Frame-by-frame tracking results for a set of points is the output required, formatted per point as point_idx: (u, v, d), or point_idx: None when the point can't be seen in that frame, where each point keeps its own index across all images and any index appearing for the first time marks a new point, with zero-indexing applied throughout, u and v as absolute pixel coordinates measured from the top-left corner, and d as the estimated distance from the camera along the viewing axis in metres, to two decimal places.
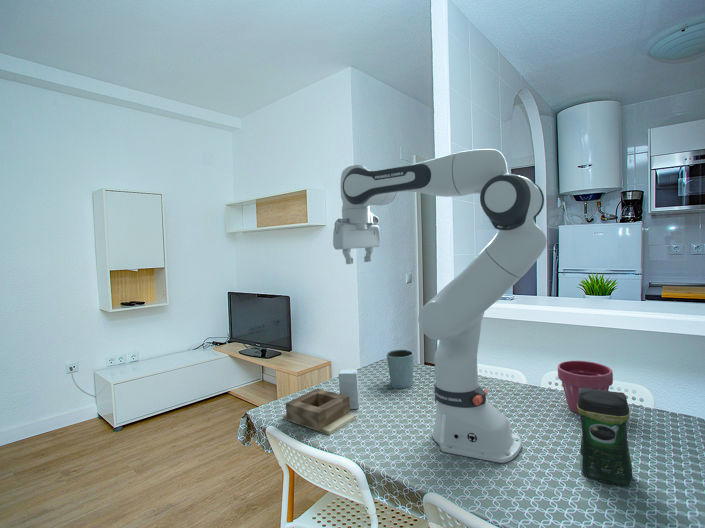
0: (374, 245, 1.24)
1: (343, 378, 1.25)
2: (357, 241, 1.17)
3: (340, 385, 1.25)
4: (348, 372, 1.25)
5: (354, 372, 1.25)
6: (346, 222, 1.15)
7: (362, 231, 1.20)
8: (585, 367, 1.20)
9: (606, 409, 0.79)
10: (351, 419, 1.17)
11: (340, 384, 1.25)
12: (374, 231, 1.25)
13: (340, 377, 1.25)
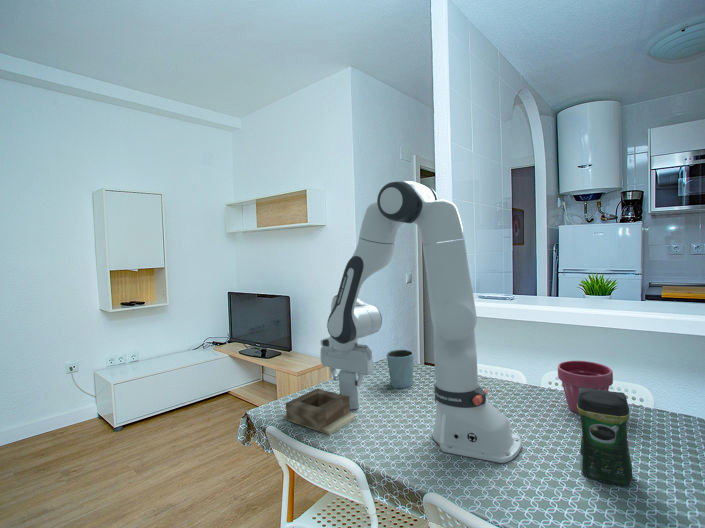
0: None
1: (343, 378, 1.25)
2: None
3: (340, 385, 1.25)
4: (348, 372, 1.25)
5: None
6: None
7: None
8: (585, 367, 1.20)
9: (606, 409, 0.79)
10: (351, 419, 1.17)
11: (340, 384, 1.25)
12: None
13: (340, 377, 1.25)
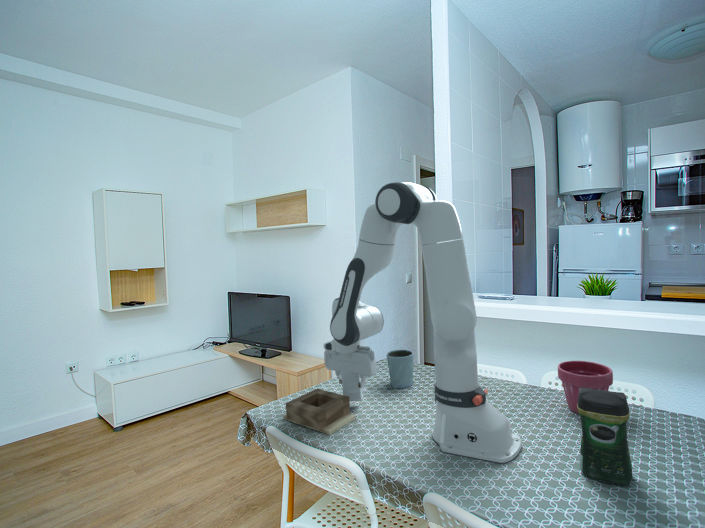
0: None
1: (345, 370, 1.25)
2: None
3: (342, 377, 1.25)
4: None
5: None
6: None
7: None
8: (585, 367, 1.20)
9: (606, 409, 0.79)
10: (351, 419, 1.17)
11: (342, 376, 1.25)
12: None
13: (342, 369, 1.25)
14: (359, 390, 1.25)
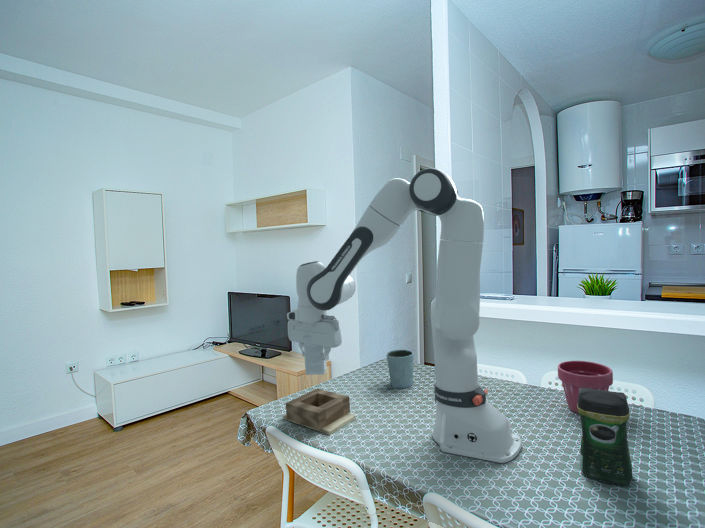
0: None
1: (308, 341, 1.17)
2: None
3: (305, 349, 1.17)
4: None
5: None
6: None
7: None
8: (585, 367, 1.20)
9: (606, 409, 0.79)
10: (351, 419, 1.17)
11: (305, 348, 1.17)
12: None
13: (305, 340, 1.17)
14: (322, 362, 1.17)
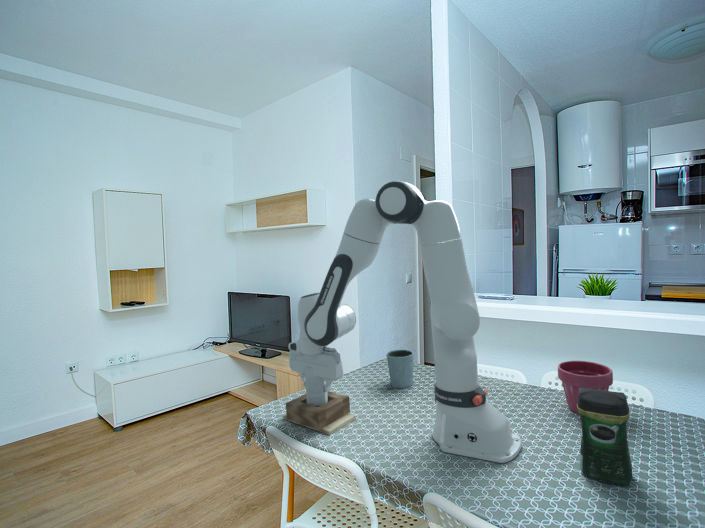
0: None
1: (309, 373, 1.17)
2: None
3: (306, 380, 1.17)
4: None
5: None
6: None
7: None
8: (585, 367, 1.20)
9: (606, 409, 0.79)
10: (351, 419, 1.17)
11: (306, 379, 1.17)
12: None
13: (306, 372, 1.17)
14: (324, 394, 1.17)
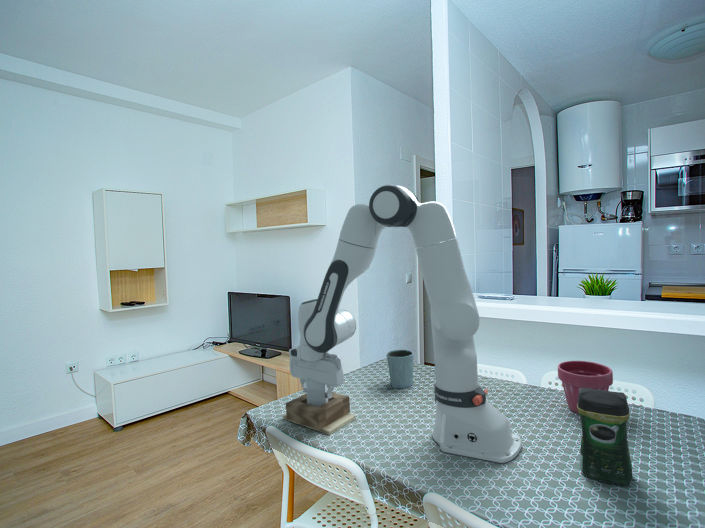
0: None
1: (310, 385, 1.17)
2: None
3: (307, 392, 1.18)
4: None
5: None
6: None
7: None
8: (585, 367, 1.20)
9: (606, 409, 0.79)
10: (351, 419, 1.17)
11: (307, 391, 1.18)
12: None
13: (307, 384, 1.18)
14: None
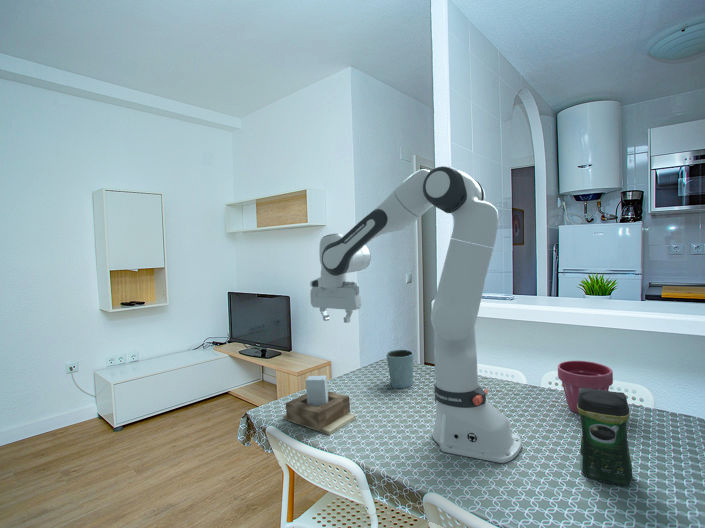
0: None
1: (310, 385, 1.17)
2: None
3: (307, 392, 1.18)
4: (316, 379, 1.18)
5: (322, 378, 1.18)
6: None
7: None
8: (585, 367, 1.20)
9: (606, 409, 0.79)
10: (351, 419, 1.17)
11: (307, 391, 1.18)
12: None
13: (307, 384, 1.18)
14: None
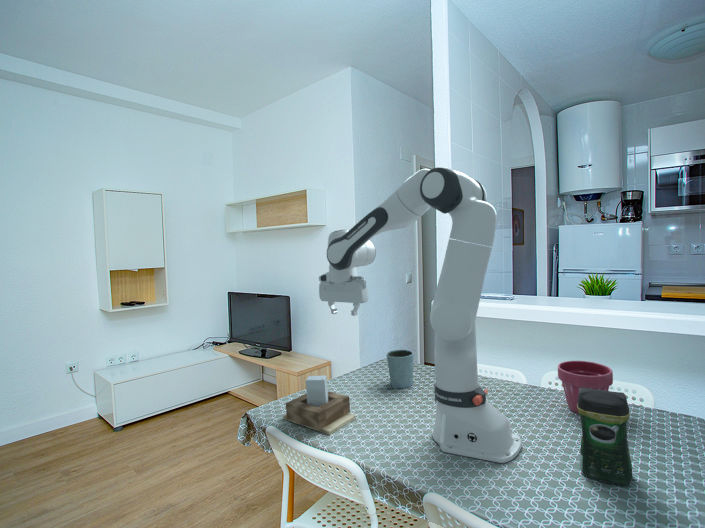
0: None
1: (310, 385, 1.17)
2: None
3: (307, 392, 1.18)
4: (316, 379, 1.18)
5: (322, 378, 1.18)
6: None
7: None
8: (585, 367, 1.20)
9: (606, 409, 0.79)
10: (351, 419, 1.17)
11: (307, 391, 1.18)
12: None
13: (307, 384, 1.18)
14: None
